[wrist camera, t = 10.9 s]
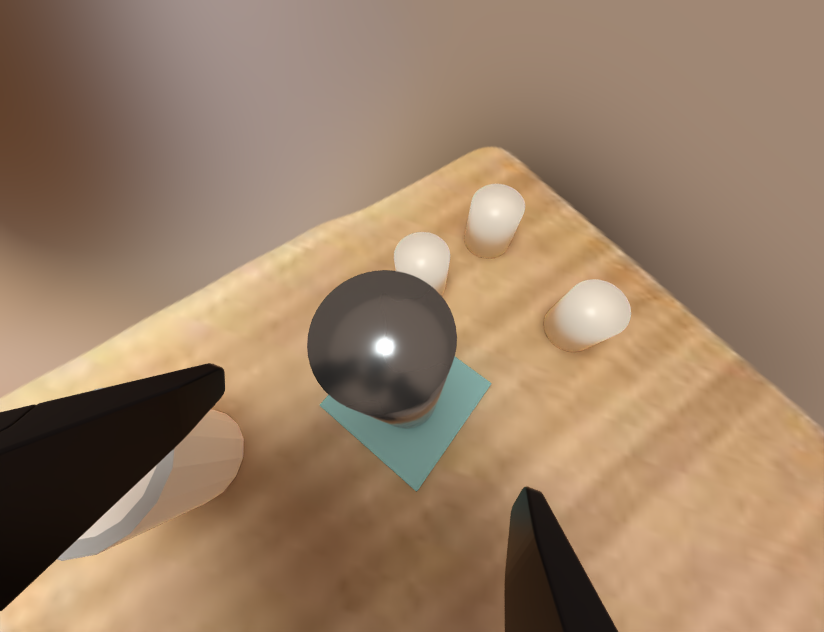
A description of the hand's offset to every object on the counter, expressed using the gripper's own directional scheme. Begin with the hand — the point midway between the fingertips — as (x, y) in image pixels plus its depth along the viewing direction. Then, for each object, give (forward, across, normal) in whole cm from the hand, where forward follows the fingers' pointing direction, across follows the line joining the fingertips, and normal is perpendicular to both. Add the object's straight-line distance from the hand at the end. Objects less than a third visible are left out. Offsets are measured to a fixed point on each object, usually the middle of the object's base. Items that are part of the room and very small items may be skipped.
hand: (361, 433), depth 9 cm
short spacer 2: (+16, -9, +1) cm, 19 cm away
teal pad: (+10, 0, +7) cm, 12 cm away
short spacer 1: (+16, +2, +1) cm, 16 cm away
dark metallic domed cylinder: (+10, 0, +7) cm, 12 cm away
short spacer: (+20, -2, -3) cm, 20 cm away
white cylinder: (+5, +11, +13) cm, 18 cm away
